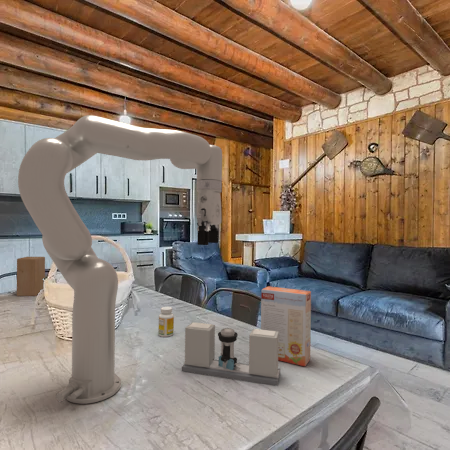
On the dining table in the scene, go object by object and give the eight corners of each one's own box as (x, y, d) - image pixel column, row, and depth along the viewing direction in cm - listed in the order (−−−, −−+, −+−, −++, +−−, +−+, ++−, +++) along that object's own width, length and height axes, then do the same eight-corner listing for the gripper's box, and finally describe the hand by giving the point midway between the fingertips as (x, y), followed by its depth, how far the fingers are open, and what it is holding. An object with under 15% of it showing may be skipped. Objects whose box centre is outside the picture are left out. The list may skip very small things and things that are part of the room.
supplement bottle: (157, 337, 111) (157, 310, 110) (159, 332, 116) (159, 306, 116) (173, 337, 111) (173, 310, 111) (174, 331, 116) (174, 306, 116)
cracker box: (310, 360, 94) (312, 290, 94) (305, 367, 89) (306, 294, 89) (267, 349, 101) (268, 285, 101) (259, 356, 96) (260, 288, 96)
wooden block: (16, 296, 166) (16, 258, 166) (26, 292, 176) (26, 256, 176) (36, 296, 167) (36, 258, 167) (45, 292, 177) (45, 256, 177)
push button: (244, 367, 85) (245, 330, 85) (234, 375, 81) (234, 336, 81) (224, 360, 89) (225, 325, 89) (213, 367, 85) (214, 331, 85)
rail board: (277, 385, 79) (278, 338, 79) (181, 371, 86) (182, 327, 86) (280, 373, 86) (280, 329, 86) (191, 360, 93) (191, 320, 93)
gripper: (212, 183, 86) (211, 246, 86) (228, 190, 102) (227, 242, 102) (186, 184, 88) (185, 245, 88) (206, 190, 104) (206, 241, 104)
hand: (208, 243), depth 95 cm, fingers open, 9 cm apart
